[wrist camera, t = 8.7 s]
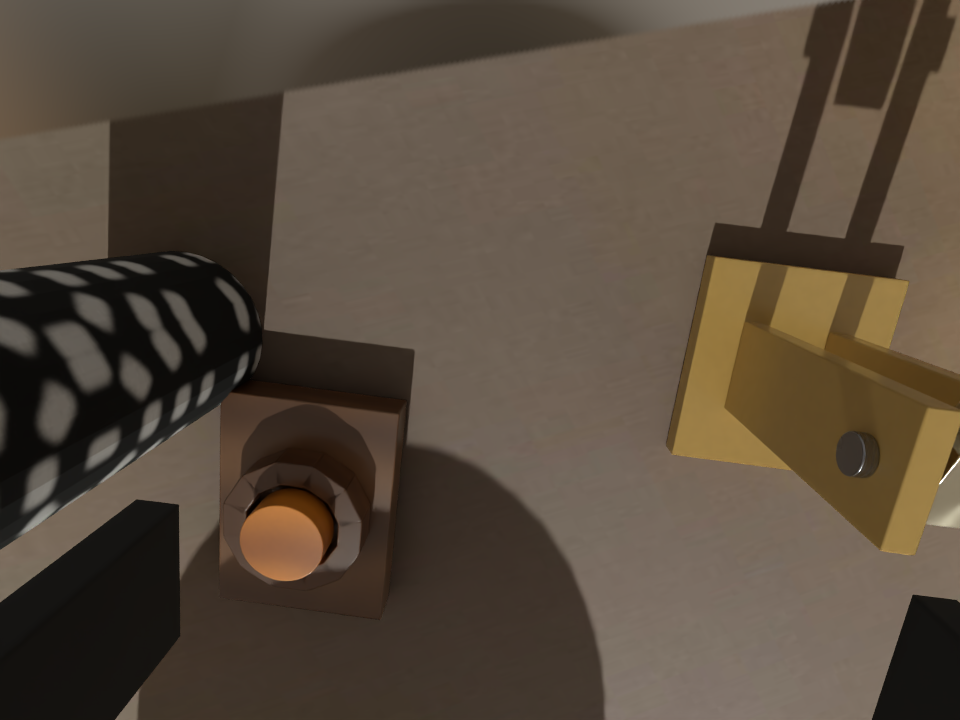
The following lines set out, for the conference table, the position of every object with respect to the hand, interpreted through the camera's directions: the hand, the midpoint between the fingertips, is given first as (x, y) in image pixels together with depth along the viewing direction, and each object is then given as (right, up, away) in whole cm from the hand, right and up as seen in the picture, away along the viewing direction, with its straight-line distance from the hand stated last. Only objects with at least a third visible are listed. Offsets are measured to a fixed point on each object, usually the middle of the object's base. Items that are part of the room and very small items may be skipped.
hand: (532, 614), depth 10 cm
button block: (-10, -3, +22) cm, 24 cm away
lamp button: (-10, -4, +18) cm, 21 cm away
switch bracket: (+14, +4, +19) cm, 24 cm away
